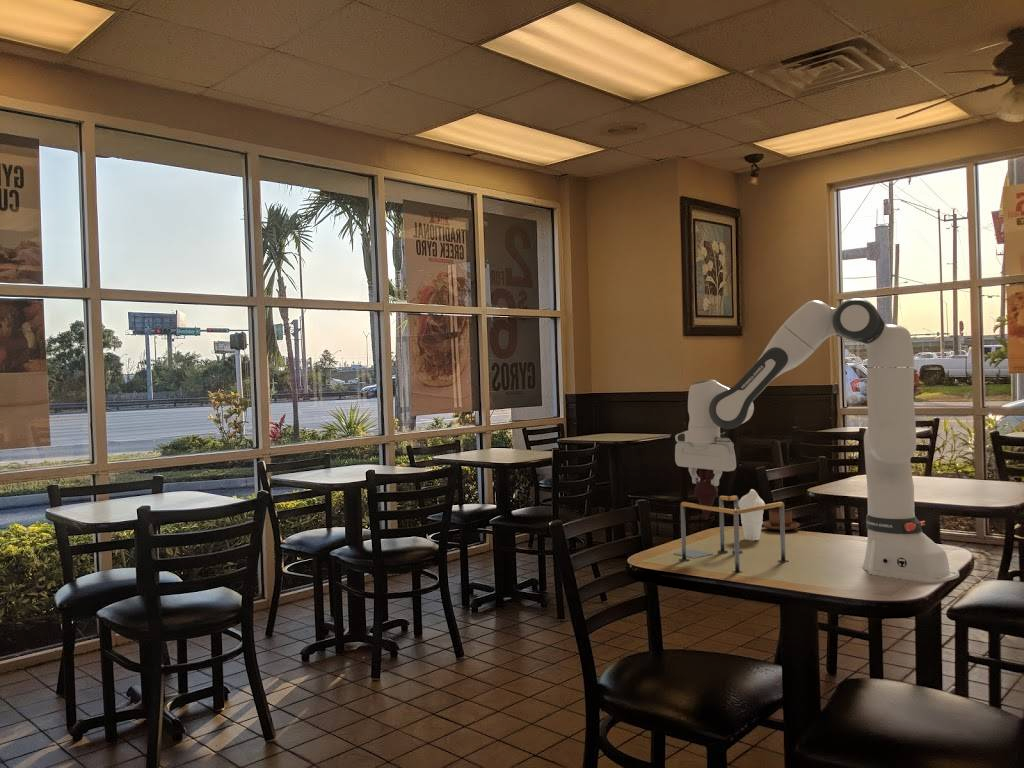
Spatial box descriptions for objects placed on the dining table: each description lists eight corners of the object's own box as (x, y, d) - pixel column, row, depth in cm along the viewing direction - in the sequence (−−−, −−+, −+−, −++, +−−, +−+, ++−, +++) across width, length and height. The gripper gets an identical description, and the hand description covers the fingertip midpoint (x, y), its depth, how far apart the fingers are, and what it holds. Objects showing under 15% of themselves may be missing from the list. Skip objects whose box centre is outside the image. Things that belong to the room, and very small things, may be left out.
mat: (713, 555, 233) (713, 553, 233) (694, 559, 228) (694, 557, 228) (692, 550, 239) (692, 549, 239) (673, 554, 235) (673, 553, 235)
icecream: (724, 521, 227) (724, 468, 226) (701, 523, 224) (701, 469, 224) (710, 517, 233) (710, 465, 233) (688, 518, 231) (688, 467, 231)
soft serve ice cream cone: (733, 538, 256) (732, 488, 256) (756, 535, 258) (754, 486, 258) (748, 543, 248) (747, 491, 248) (771, 540, 250) (770, 489, 250)
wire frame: (788, 563, 221) (787, 502, 220) (737, 575, 209) (736, 511, 209) (729, 550, 238) (727, 494, 238) (679, 561, 226) (677, 502, 226)
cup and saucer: (759, 525, 276) (759, 507, 276) (796, 525, 274) (795, 507, 273) (764, 532, 264) (764, 513, 264) (802, 532, 262) (802, 513, 262)
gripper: (740, 437, 222) (741, 487, 222) (686, 434, 239) (687, 480, 239) (725, 439, 218) (726, 489, 219) (671, 435, 235) (672, 482, 235)
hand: (705, 484), depth 229 cm, fingers open, 6 cm apart
